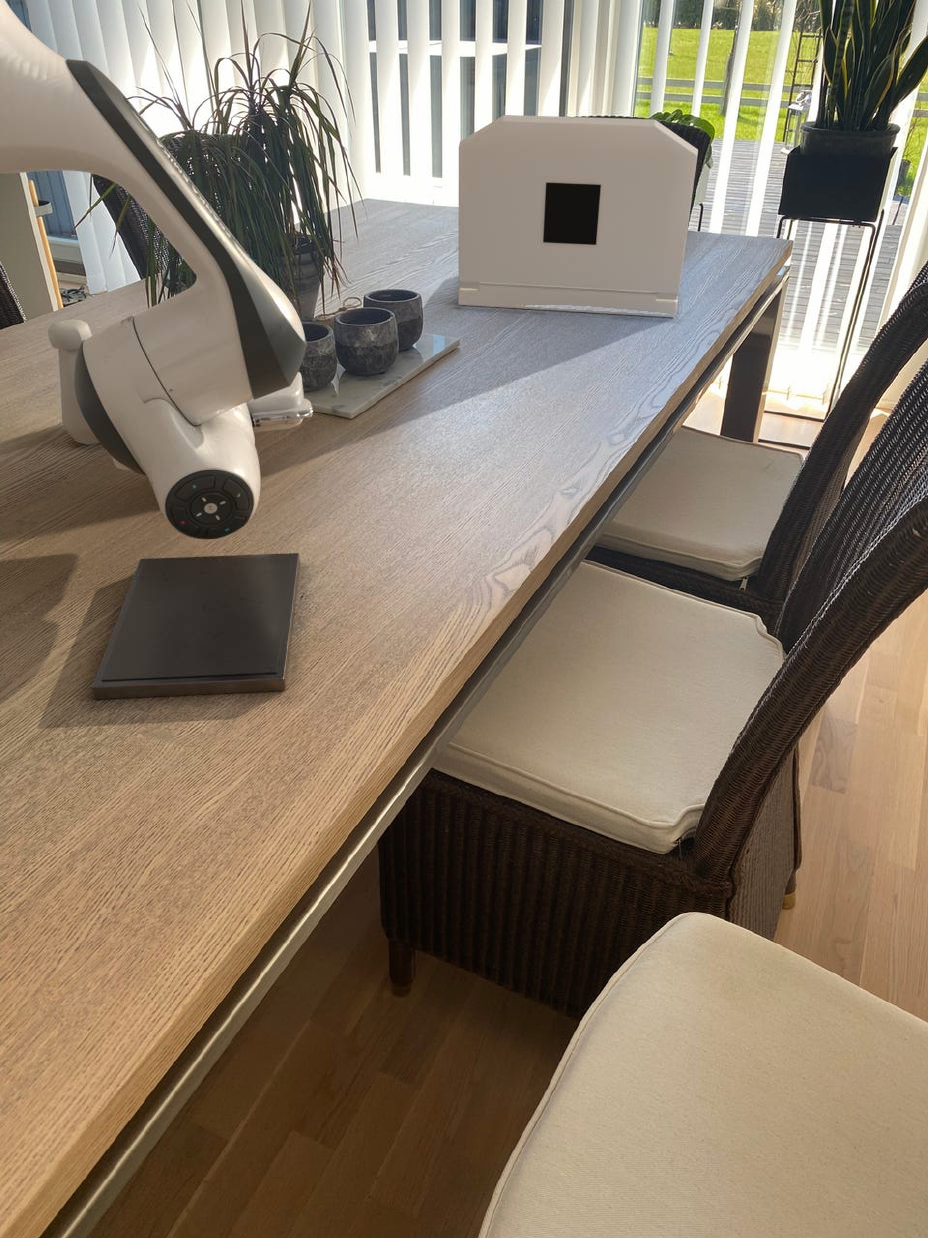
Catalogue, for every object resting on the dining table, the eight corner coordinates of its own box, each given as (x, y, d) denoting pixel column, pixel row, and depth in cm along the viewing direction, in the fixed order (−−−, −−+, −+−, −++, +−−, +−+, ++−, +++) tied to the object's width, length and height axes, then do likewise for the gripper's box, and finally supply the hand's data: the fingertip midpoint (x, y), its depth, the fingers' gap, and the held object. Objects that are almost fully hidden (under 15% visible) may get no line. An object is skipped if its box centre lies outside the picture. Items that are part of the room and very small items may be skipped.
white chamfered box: (675, 274, 162) (697, 99, 147) (675, 318, 143) (702, 122, 127) (482, 264, 167) (485, 93, 152) (458, 305, 147) (458, 114, 132)
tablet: (94, 700, 70) (90, 686, 69) (142, 569, 85) (139, 557, 84) (285, 691, 71) (283, 677, 70) (300, 563, 86) (299, 551, 85)
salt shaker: (63, 449, 105) (33, 333, 97) (70, 428, 109) (41, 316, 102) (118, 445, 106) (92, 329, 98) (123, 424, 110) (98, 312, 103)
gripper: (312, 386, 88) (296, 338, 99) (82, 407, 84) (92, 354, 95) (318, 448, 92) (302, 395, 103) (98, 471, 88) (105, 413, 99)
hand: (199, 375), depth 99 cm, fingers closed on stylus, 3 cm apart
